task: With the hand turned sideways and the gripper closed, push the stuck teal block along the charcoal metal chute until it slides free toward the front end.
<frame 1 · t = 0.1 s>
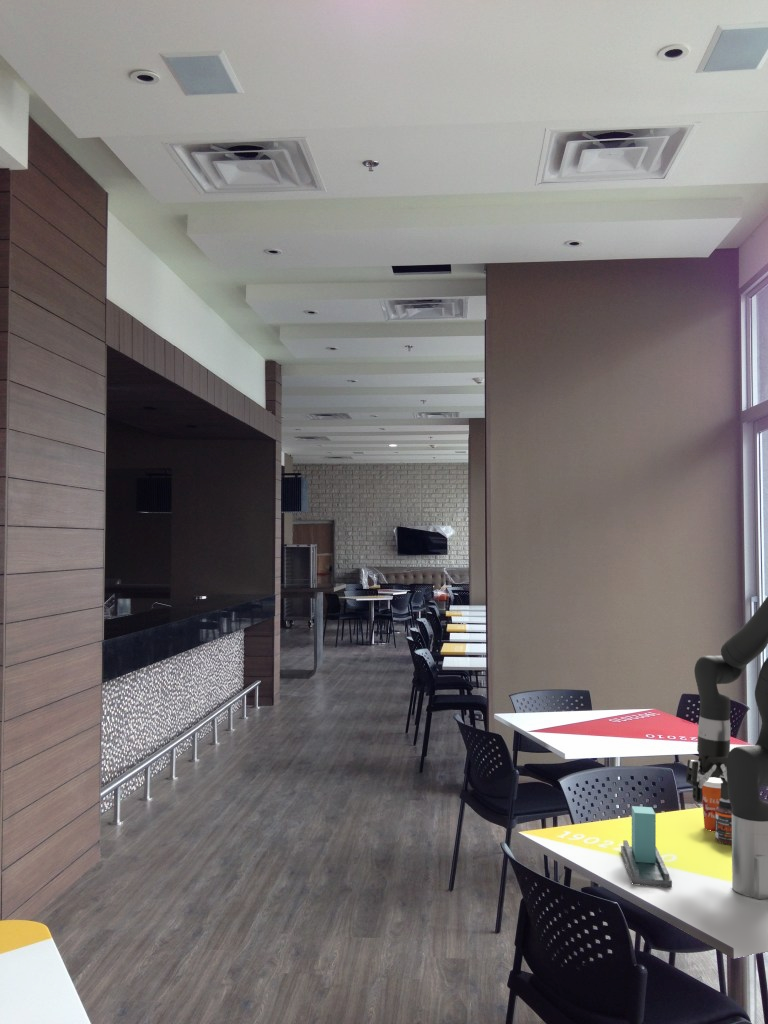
hand: (711, 800, 205), 17 cm above the table, tool pointing down, fingers open, 8 cm apart
paper cup: (715, 830, 238), on the table
teal block: (643, 834, 208), point 8 cm above the table, slide at 0.0 cm
charcoal chute: (644, 868, 205), on the table
supplement bottle: (726, 842, 227), on the table
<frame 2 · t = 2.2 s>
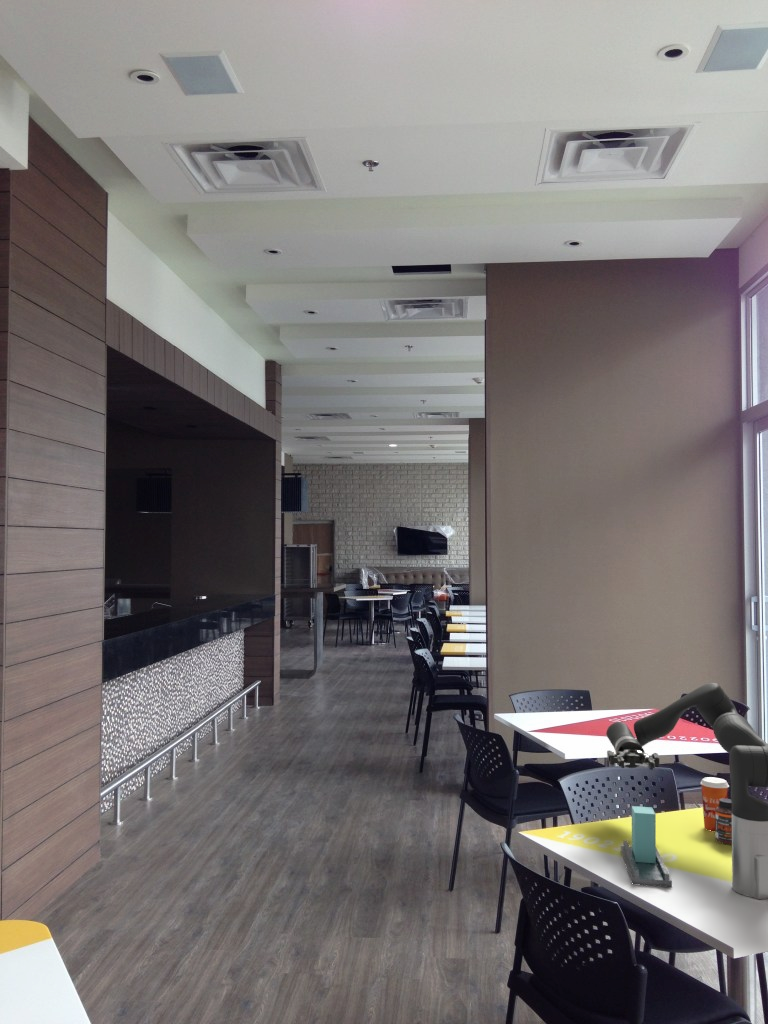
hand: (637, 765, 221), 22 cm above the table, tool horizontal, fingers open, 7 cm apart
nothing on the table moved.
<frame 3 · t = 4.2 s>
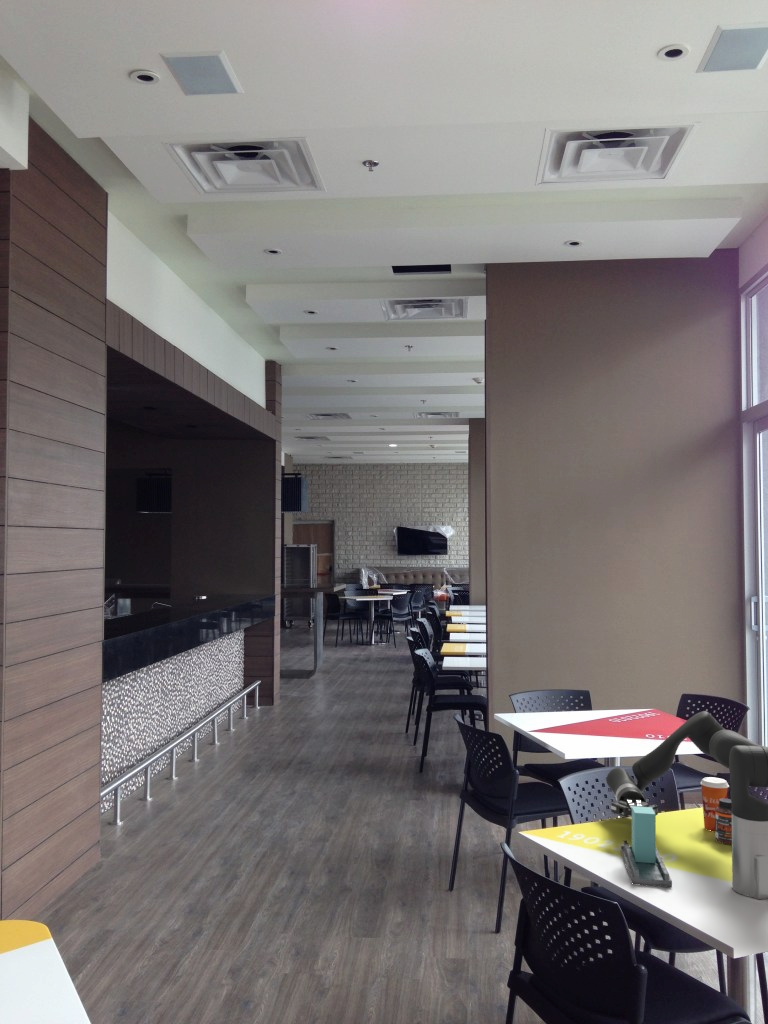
hand: (638, 818, 217), 9 cm above the table, tool horizontal, fingers closed
nothing on the table moved.
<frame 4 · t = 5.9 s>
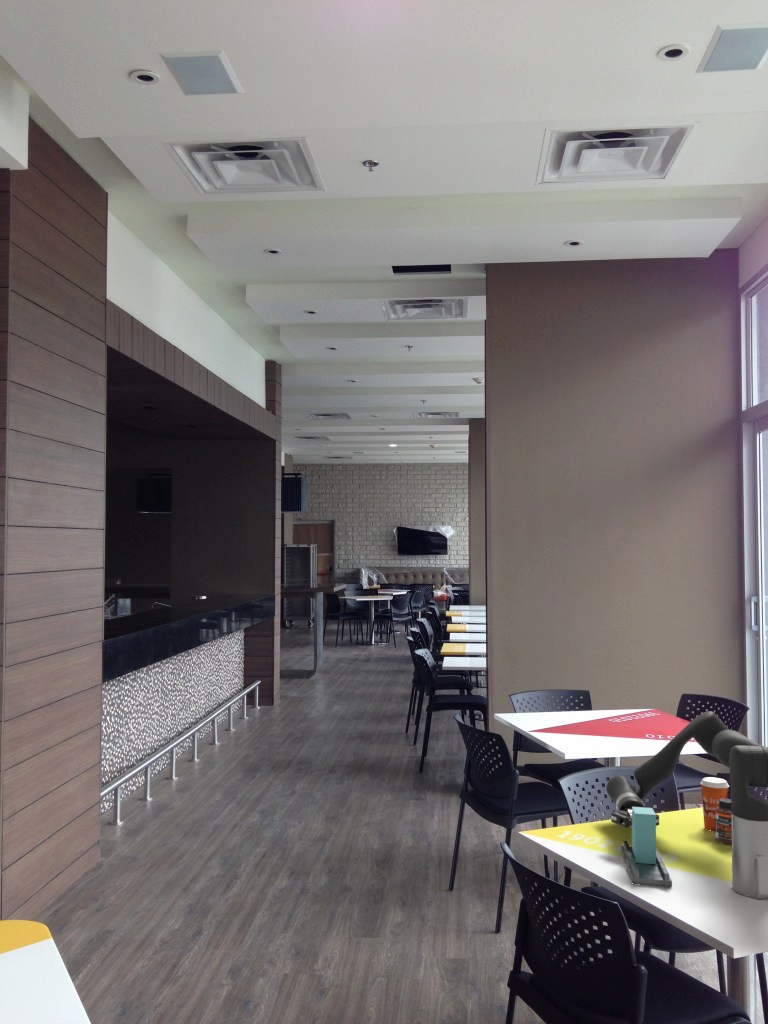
hand: (639, 828, 211), 8 cm above the table, tool horizontal, fingers closed
teal block: (643, 835, 207), point 8 cm above the table, slide at 0.6 cm, touching gripper
everything else where it was.
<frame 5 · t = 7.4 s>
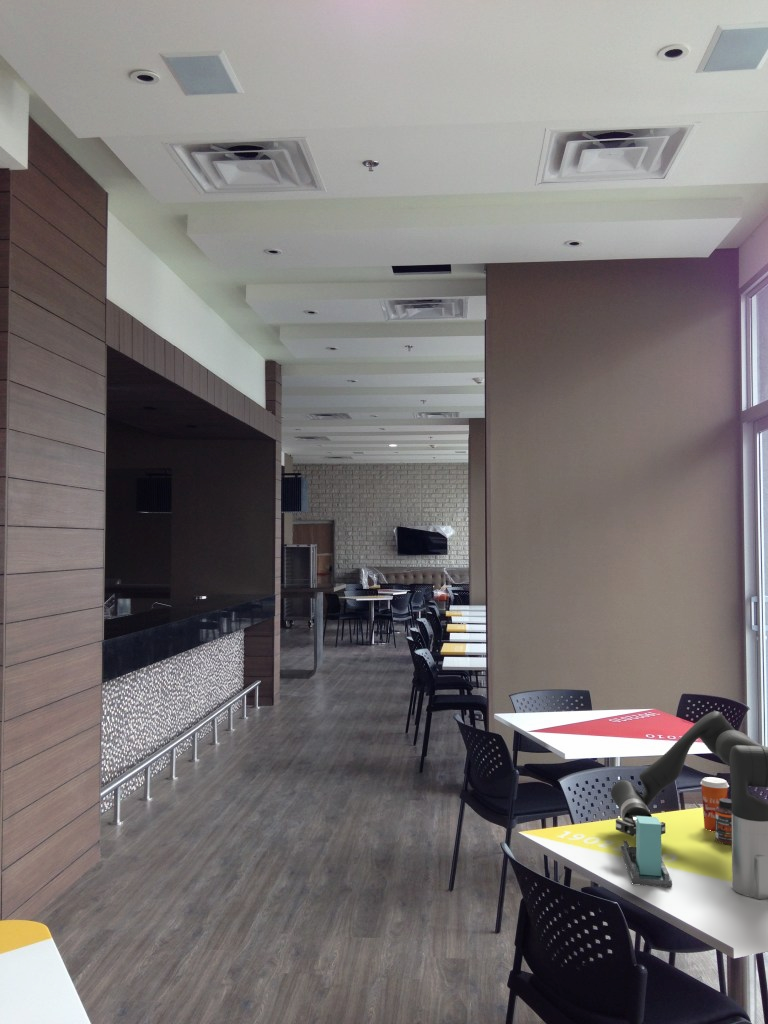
hand: (645, 837, 203), 9 cm above the table, tool horizontal, fingers closed
teal block: (648, 845, 200), point 8 cm above the table, slide at 8.6 cm, touching gripper
everything else where it was.
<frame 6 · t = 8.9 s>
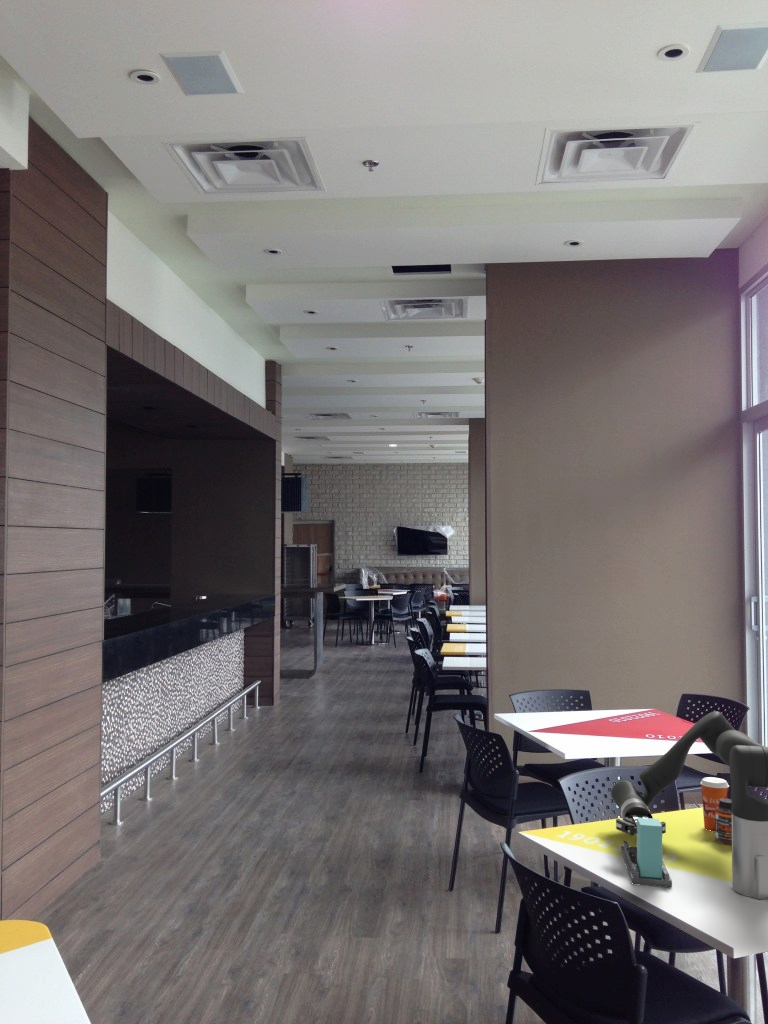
hand: (645, 836, 203), 9 cm above the table, tool horizontal, fingers closed
teal block: (649, 847, 198), point 8 cm above the table, slide at 9.9 cm
everything else where it was.
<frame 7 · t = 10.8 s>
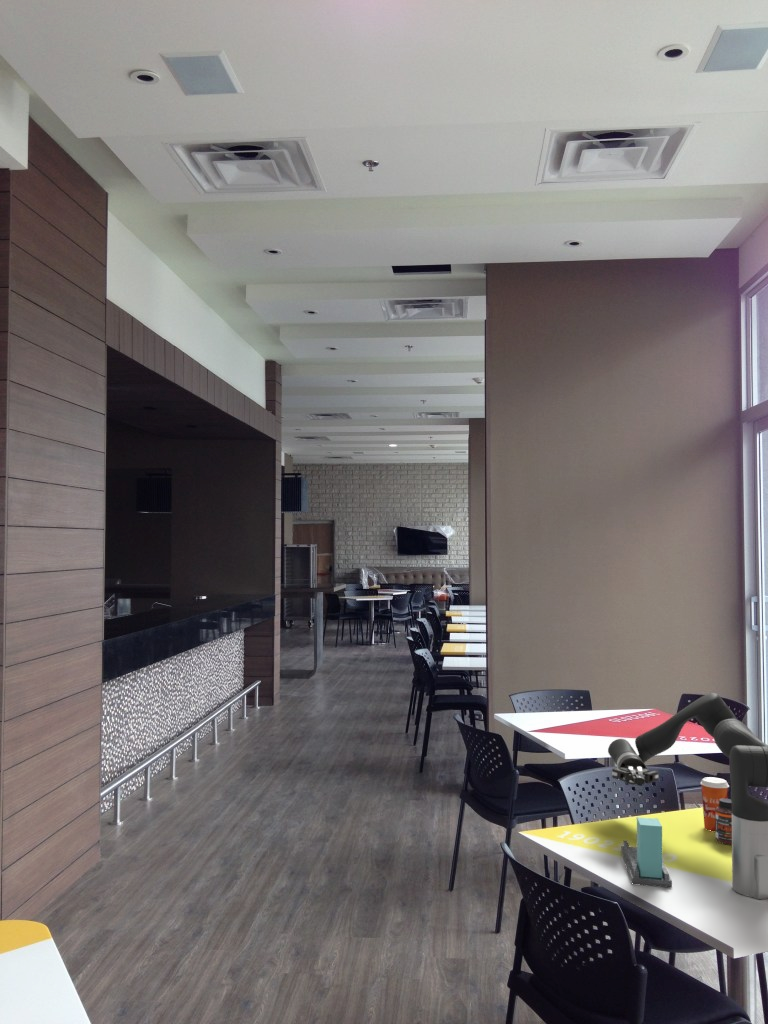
hand: (639, 781, 219), 18 cm above the table, tool horizontal, fingers closed
nothing on the table moved.
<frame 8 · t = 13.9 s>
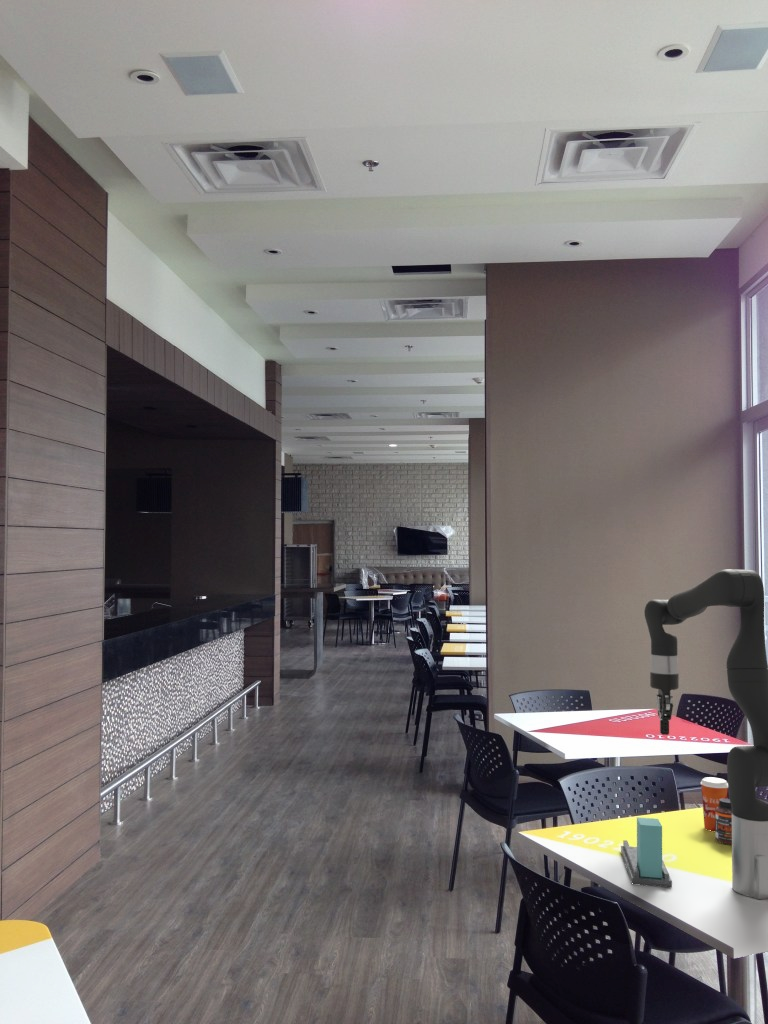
hand: (664, 734, 229), 29 cm above the table, tool pointing down, fingers closed
nothing on the table moved.
at the end: teal block slide at 9.9 cm; supplement bottle moved 0.2 cm from its start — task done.
